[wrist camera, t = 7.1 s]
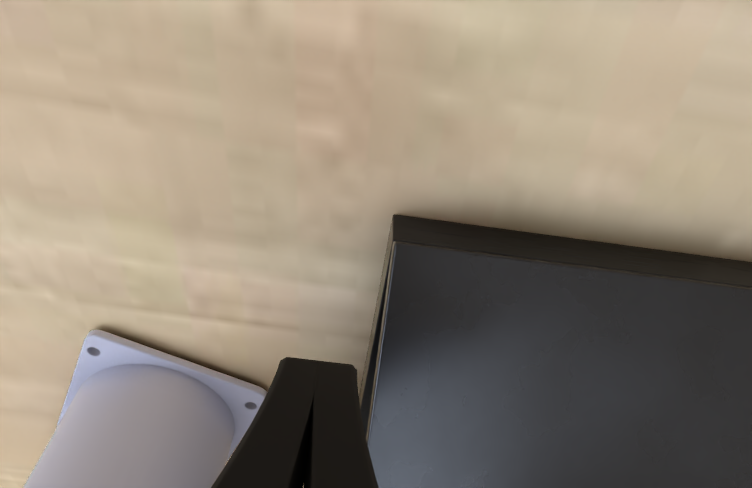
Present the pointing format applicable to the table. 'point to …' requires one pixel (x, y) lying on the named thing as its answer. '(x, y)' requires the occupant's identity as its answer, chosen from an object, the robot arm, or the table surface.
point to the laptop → (542, 250)
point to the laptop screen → (558, 376)
